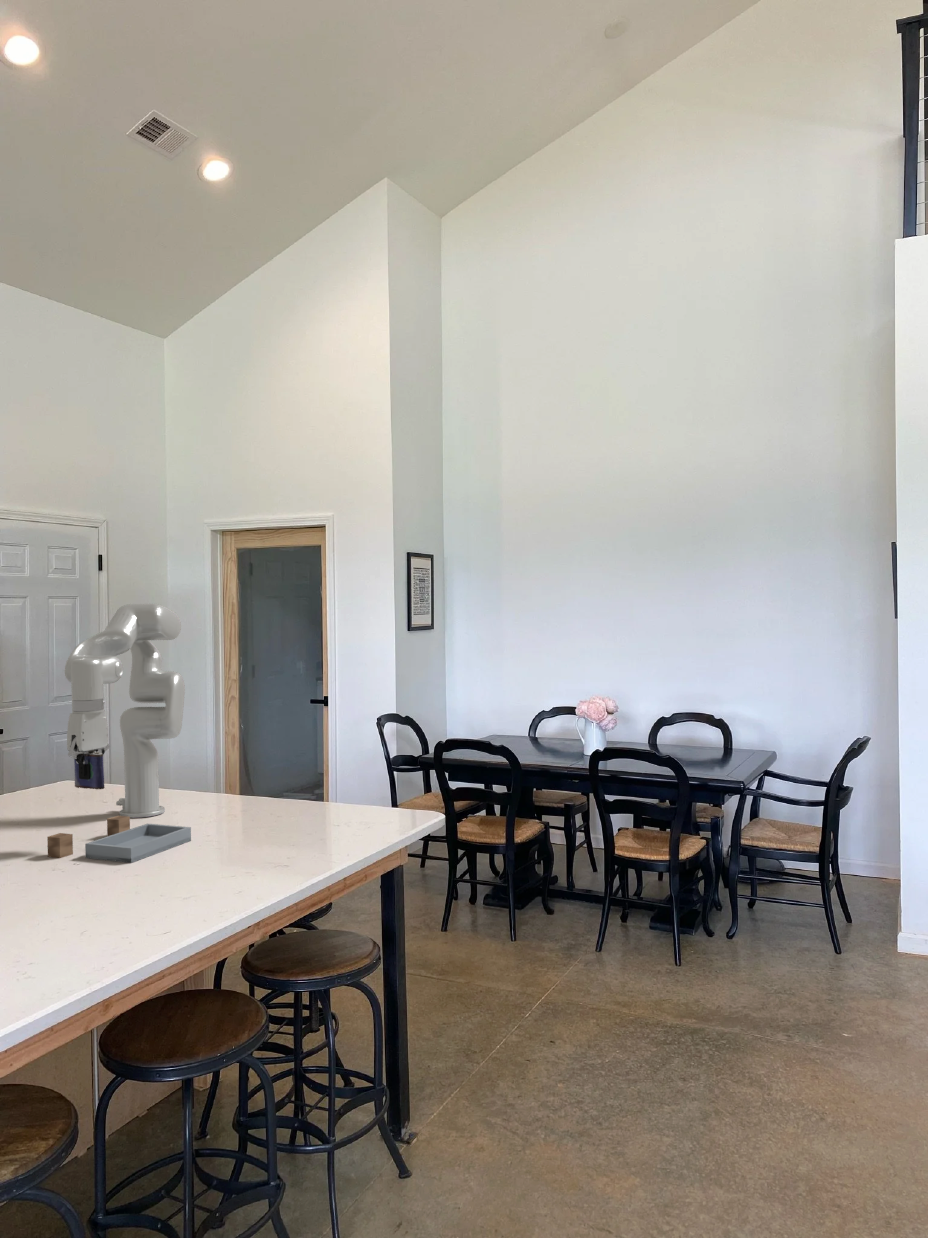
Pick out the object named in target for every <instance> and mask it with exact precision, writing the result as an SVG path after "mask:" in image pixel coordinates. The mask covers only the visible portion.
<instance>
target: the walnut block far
mask: <svg viewBox="0 0 928 1238" xmlns="http://www.w3.org/2000/svg"><path fill="white" fill-rule="evenodd" d="M130 819H131V818H130V817H128V816H120V815H115V816H112V817H108V818H106V826H107V827H106V829H107V830H106V831H107V835H106V837H107V836H111V835H114V834H117V833H120V832H123V831H126V830H129V829H131V822H130V821H131V820H130Z"/></svg>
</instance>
